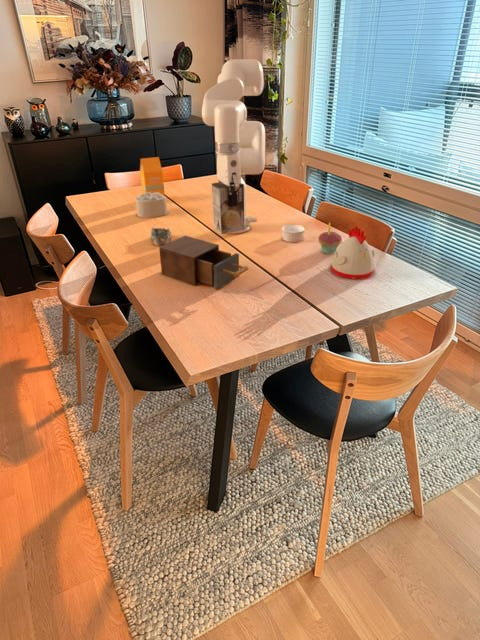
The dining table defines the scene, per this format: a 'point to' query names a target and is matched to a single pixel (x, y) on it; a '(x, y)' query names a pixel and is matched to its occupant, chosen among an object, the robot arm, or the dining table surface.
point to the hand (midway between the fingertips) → (228, 202)
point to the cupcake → (329, 241)
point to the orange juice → (151, 175)
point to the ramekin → (292, 233)
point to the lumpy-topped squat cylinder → (151, 205)
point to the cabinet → (183, 258)
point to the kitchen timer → (353, 257)
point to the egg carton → (160, 236)
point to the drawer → (218, 268)
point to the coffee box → (227, 209)
